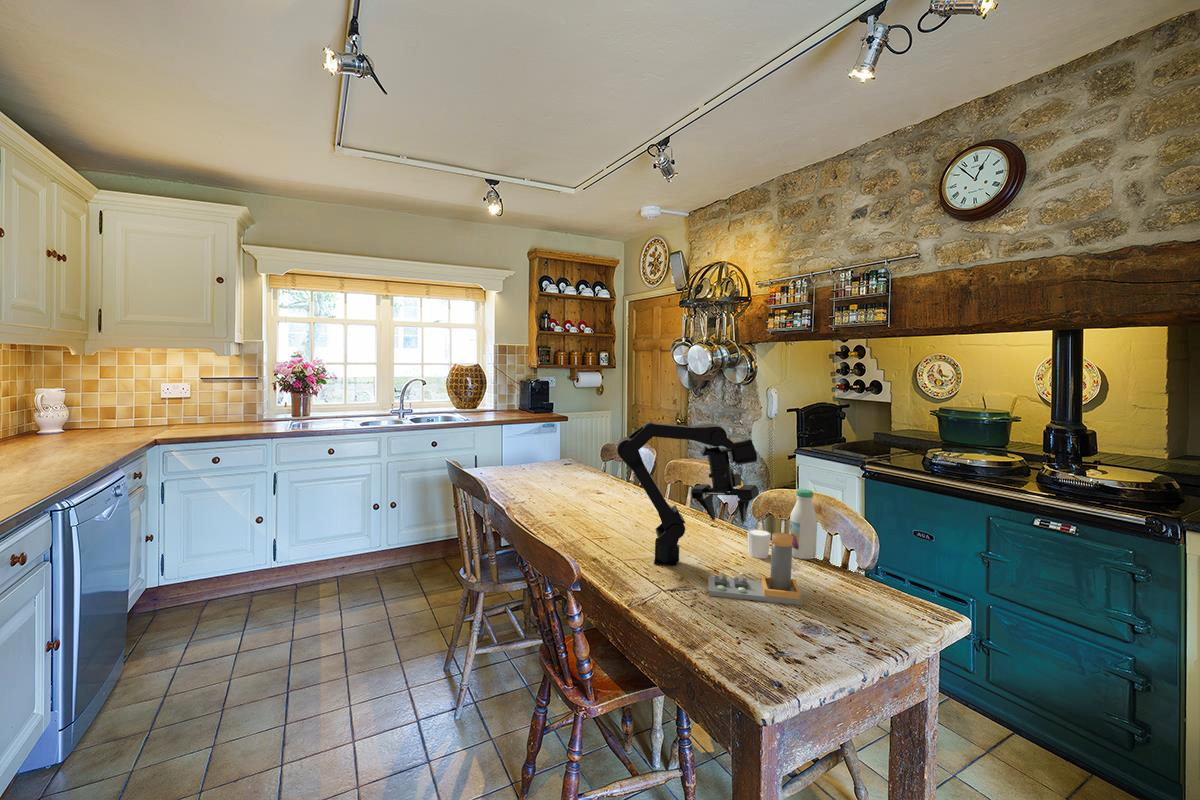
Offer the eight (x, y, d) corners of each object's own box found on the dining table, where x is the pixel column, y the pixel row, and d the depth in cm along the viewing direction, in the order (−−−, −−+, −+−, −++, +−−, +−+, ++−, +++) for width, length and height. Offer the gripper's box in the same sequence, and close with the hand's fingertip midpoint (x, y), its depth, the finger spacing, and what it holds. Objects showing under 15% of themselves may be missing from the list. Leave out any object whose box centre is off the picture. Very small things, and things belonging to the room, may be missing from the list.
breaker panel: (708, 595, 127) (709, 579, 127) (708, 580, 136) (708, 565, 136) (802, 605, 123) (803, 588, 123) (795, 589, 132) (796, 573, 131)
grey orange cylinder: (768, 591, 127) (770, 536, 126) (771, 584, 131) (774, 531, 130) (788, 596, 125) (790, 540, 124) (791, 588, 129) (794, 534, 128)
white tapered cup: (771, 560, 151) (772, 537, 150) (747, 558, 152) (748, 535, 152) (768, 552, 158) (769, 529, 157) (745, 550, 159) (746, 528, 159)
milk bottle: (814, 552, 158) (817, 488, 156) (816, 561, 150) (819, 494, 149) (788, 549, 160) (790, 486, 159) (788, 558, 153) (791, 492, 152)
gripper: (762, 460, 147) (770, 513, 148) (703, 461, 158) (711, 510, 160) (746, 470, 138) (755, 526, 139) (686, 471, 150) (694, 522, 151)
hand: (728, 520), depth 147 cm, fingers open, 9 cm apart
